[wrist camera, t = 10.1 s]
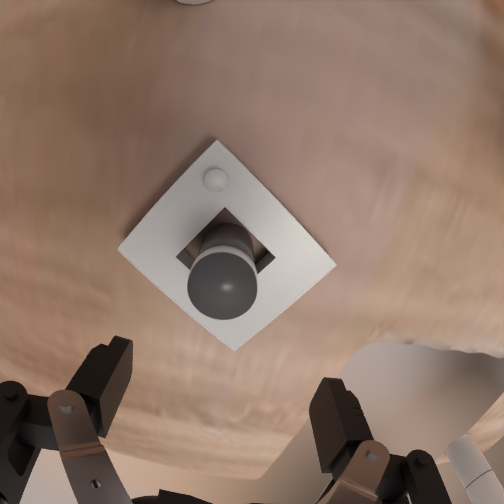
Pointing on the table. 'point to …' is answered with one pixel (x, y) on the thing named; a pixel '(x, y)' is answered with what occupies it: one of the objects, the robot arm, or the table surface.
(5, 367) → the table surface
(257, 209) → the plate
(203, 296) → the lens
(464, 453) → the cylindrical container
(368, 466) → the robot arm
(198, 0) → the coffee cup
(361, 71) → the table surface
